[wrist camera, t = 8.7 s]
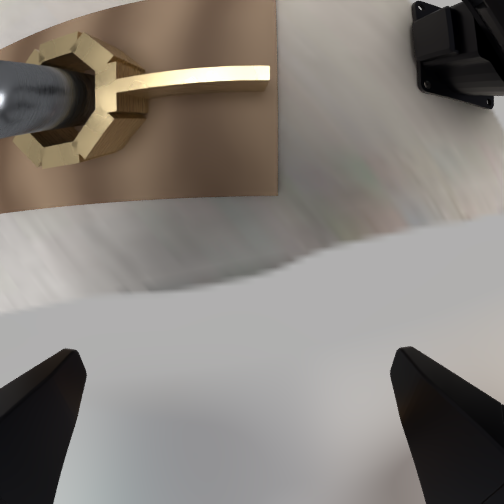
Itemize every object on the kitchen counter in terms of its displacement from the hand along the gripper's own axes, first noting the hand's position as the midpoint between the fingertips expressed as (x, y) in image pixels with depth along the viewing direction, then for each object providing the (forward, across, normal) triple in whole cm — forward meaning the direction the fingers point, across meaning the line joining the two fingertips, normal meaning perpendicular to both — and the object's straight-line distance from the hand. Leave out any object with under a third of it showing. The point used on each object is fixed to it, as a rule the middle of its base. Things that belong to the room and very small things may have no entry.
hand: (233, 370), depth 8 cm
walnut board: (+12, +8, -8) cm, 16 cm away
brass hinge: (+11, +8, -8) cm, 16 cm away
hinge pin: (+11, +8, -8) cm, 16 cm away
